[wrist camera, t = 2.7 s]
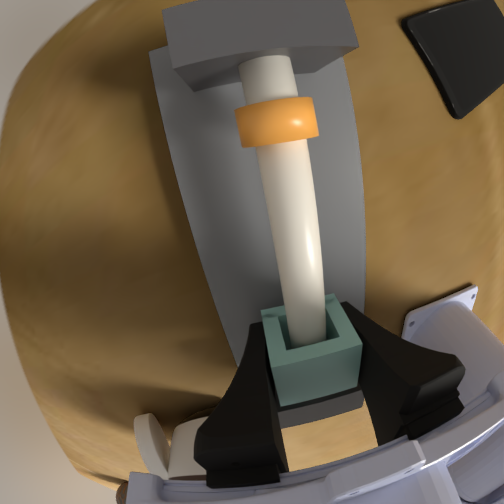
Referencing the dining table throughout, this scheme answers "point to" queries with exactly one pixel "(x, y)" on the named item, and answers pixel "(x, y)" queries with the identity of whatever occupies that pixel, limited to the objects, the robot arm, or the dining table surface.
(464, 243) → the dining table surface
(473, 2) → the smartphone
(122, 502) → the vase
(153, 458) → the spread jar
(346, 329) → the marker sleeve
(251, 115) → the rod and ring fixture
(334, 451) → the dining table surface
